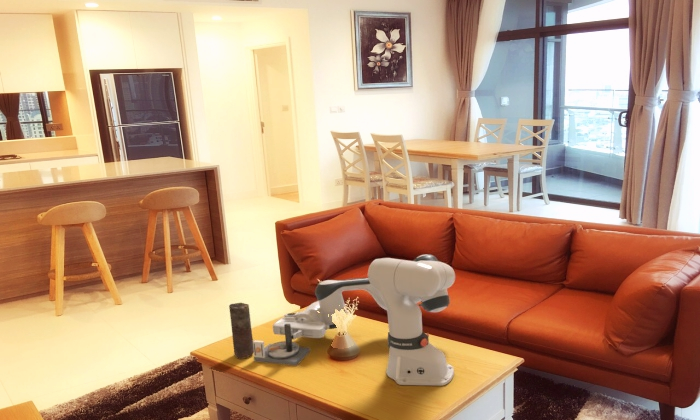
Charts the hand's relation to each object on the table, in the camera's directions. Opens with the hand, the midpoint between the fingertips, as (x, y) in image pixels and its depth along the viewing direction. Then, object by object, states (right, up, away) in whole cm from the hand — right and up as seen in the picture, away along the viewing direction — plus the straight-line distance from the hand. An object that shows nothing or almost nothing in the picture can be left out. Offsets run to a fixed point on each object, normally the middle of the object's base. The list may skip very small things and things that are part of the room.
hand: (290, 337), depth 207 cm
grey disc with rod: (-3, -7, +4) cm, 8 cm away
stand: (-3, -8, +4) cm, 10 cm away
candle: (-18, -9, +8) cm, 21 cm away
